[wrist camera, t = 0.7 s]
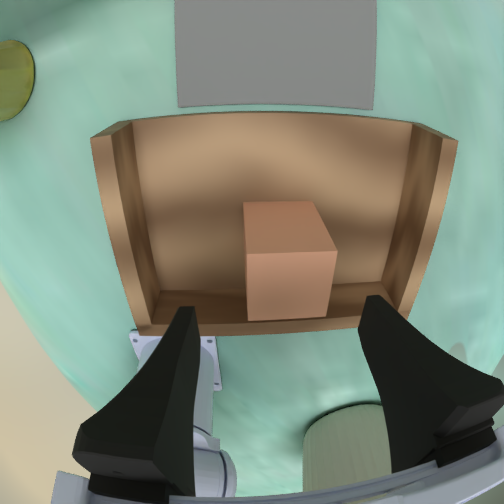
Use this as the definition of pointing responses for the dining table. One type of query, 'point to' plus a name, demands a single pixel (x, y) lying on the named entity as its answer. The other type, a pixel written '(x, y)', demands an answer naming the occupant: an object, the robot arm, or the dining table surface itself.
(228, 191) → the crate
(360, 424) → the canister
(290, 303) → the block
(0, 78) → the vase
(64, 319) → the dining table surface
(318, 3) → the mat
